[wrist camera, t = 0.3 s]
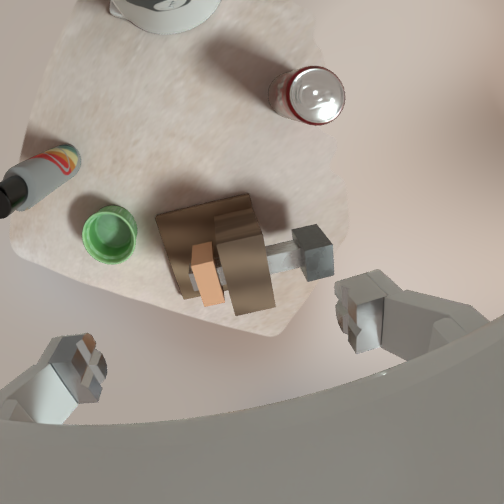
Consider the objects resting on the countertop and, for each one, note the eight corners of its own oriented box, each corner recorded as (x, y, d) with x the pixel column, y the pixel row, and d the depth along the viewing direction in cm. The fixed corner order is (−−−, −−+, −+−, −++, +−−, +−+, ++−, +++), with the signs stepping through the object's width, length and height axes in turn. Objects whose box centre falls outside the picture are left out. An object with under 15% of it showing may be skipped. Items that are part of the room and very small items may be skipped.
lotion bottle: (74, 137, 39) (1, 168, 22) (86, 169, 42) (23, 217, 25) (47, 152, 39) (-28, 191, 22) (59, 183, 42) (-8, 236, 25)
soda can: (266, 118, 43) (286, 124, 32) (267, 71, 39) (287, 62, 29) (313, 119, 44) (346, 128, 33) (314, 74, 40) (348, 69, 30)
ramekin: (111, 260, 50) (105, 273, 46) (80, 220, 46) (71, 231, 42) (151, 235, 49) (146, 247, 45) (119, 191, 45) (112, 200, 41)
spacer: (192, 245, 46) (191, 266, 41) (211, 241, 46) (212, 261, 41) (204, 283, 49) (204, 306, 44) (222, 279, 49) (224, 302, 44)
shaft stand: (156, 215, 47) (144, 246, 38) (248, 193, 48) (259, 219, 38) (184, 295, 55) (181, 337, 46) (265, 277, 56) (277, 316, 46)
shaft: (187, 252, 46) (185, 278, 40) (316, 224, 47) (332, 244, 41) (196, 279, 49) (195, 307, 43) (318, 252, 49) (334, 275, 43)
